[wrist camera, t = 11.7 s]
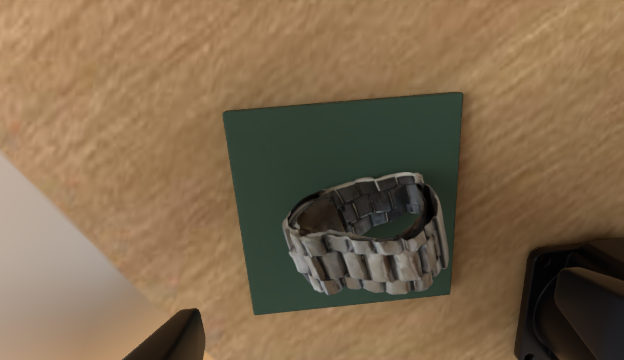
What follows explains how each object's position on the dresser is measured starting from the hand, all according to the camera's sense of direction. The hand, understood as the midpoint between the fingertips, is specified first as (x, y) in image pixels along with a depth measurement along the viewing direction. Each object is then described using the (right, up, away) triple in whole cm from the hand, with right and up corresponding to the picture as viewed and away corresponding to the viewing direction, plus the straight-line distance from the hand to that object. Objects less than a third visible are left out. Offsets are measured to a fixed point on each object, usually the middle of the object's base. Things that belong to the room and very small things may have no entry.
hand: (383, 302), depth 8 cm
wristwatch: (0, +2, +5) cm, 6 cm away
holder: (0, +2, +6) cm, 6 cm away
